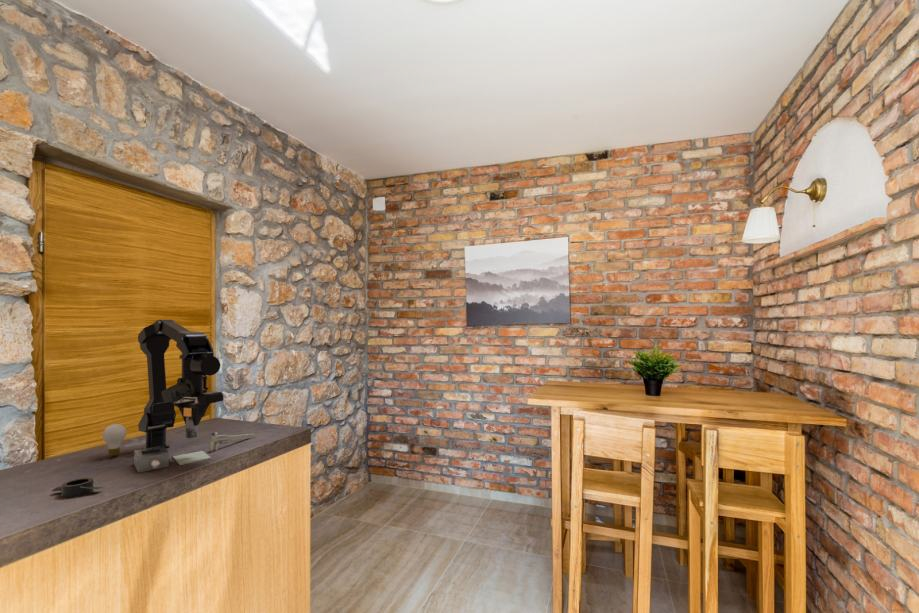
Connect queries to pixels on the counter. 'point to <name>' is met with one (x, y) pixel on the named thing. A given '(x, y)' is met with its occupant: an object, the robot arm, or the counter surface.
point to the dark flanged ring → (76, 487)
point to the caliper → (224, 439)
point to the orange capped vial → (190, 423)
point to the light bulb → (114, 438)
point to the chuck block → (151, 458)
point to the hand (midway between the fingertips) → (191, 425)
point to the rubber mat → (191, 457)
